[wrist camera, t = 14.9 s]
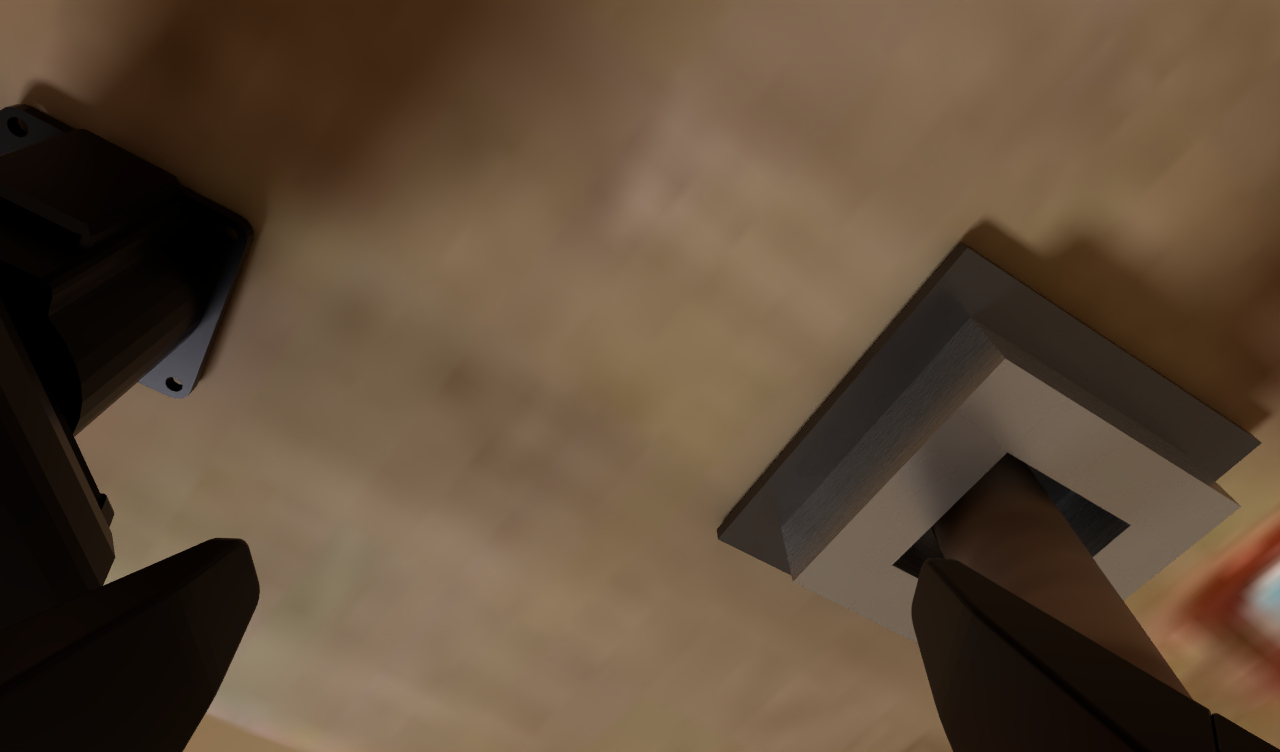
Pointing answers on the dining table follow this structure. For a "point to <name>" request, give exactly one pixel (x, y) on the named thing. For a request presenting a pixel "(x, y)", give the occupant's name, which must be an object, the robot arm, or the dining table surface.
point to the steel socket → (986, 446)
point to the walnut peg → (1043, 561)
